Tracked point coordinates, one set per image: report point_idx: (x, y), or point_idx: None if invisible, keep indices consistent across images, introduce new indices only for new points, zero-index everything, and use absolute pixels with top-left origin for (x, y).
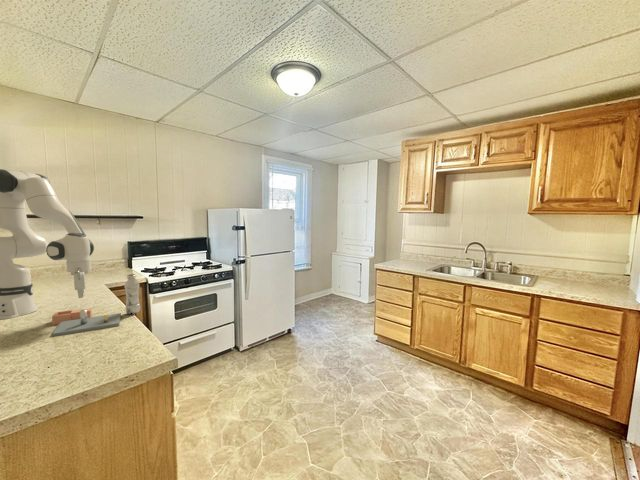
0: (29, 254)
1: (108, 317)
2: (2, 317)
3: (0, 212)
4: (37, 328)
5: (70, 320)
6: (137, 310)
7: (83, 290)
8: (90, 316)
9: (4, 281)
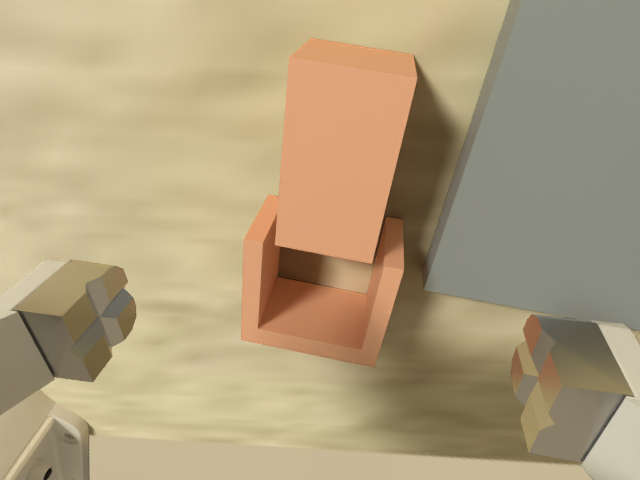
0: None
1: None
2: (82, 448)
3: None
4: (390, 368)
5: (449, 235)
6: None
7: (70, 309)
8: (413, 60)
9: None
